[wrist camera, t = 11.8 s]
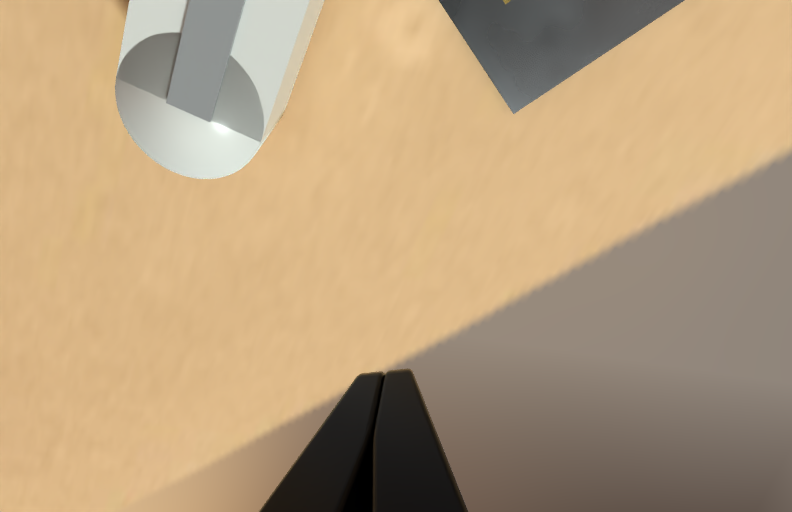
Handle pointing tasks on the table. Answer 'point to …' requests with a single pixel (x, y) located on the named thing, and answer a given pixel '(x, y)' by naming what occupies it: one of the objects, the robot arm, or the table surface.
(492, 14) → the label plate
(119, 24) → the table surface
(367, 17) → the table surface
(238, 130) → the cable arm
